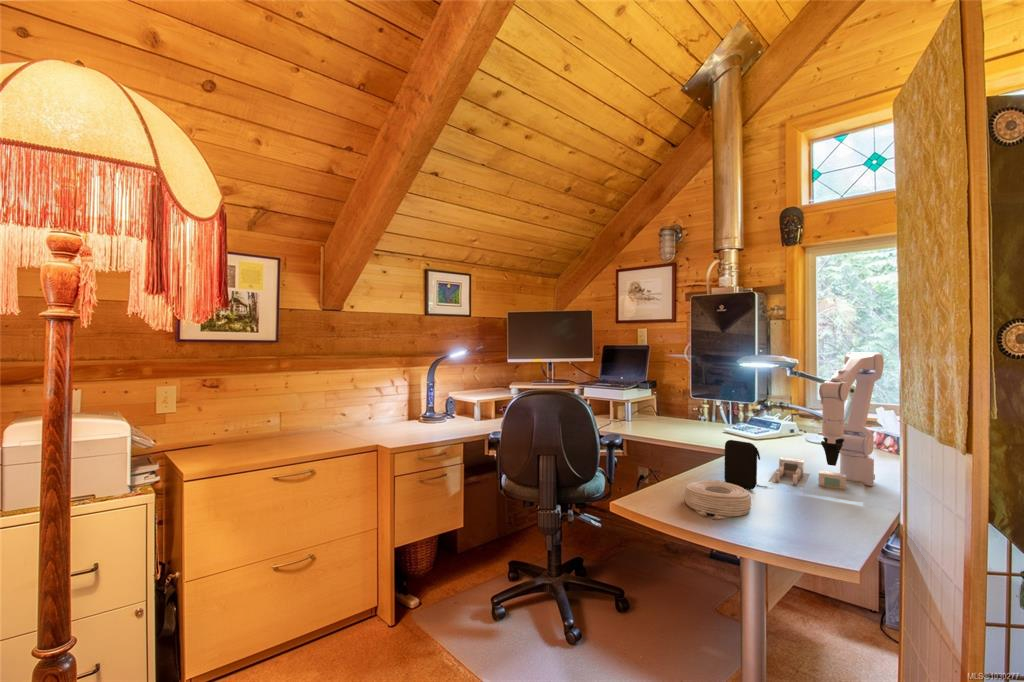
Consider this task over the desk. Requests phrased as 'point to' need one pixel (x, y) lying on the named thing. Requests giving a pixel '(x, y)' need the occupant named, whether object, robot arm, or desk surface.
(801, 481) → the grey peg board
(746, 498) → the cable
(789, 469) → the tan rectangular block
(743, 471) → the carrying case or bag
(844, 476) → the light wooden block
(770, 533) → the desk surface
